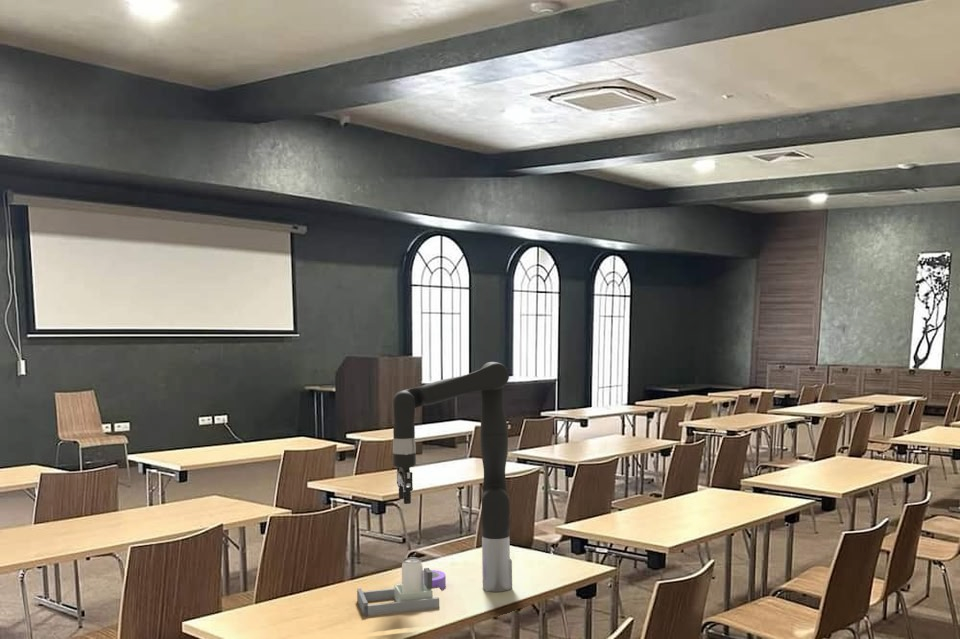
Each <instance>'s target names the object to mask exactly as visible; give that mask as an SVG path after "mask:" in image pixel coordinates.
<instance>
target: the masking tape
mask: <svg viewBox="0 0 960 639" xmlns="http://www.w3.org/2000/svg"><path fill="white" fill-rule="evenodd" d="M430 570H431V571H432V588H435V587H438V589H439V590H442V589H444V588H445V587H446V586H445V585H446V582H447V580H446V577H447V576H446V573H445V572H443V571H440V570H435V569H430ZM423 582H424V569H423Z"/></svg>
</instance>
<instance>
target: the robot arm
mask: <svg viewBox="0 0 960 639" xmlns="http://www.w3.org/2000/svg"><path fill="white" fill-rule="evenodd" d="M509 378H510V373H509V370H508V368H507V367H506V366H505V364H503V363H500V362H497V361H490V362H489V361H488V362H485V364H483V365H482V367H481V368H480V369H478V370H476V371H473V372H470V373H467V374H463V375H460V376H456V377H450V378H444V379H440V380H436V381H431V382H429V383H426V384H423V385H421V386H417V387H412V388H407V389H404V390H403V389H402V390H399V391H397V392H396V393H395V394H394V395H393V398H392V404H393V416H394V417H393V419H394V420H393V421H394V423H393V432H392V433H393V440H392V441H393V442H392V466H393V467H394V468H396V469H397V470H396V484H397V487H398V499H399V500H403V504H404V505H410V504H411V503H412V493H411V492H412V491H413V490H414V488H413V486H414V485H413V484H414V483H413V471H411V470H410V469H411V467H415V466H416V465H417V464H416V463H417V462H416V461H417V460H416V458H417V455H416V454H417V453H416V450H417V449H416V446H417V444H416V440H415V439H416V436H415V435H416V431H415V428H416V427H415V426H416V425H415V414H416V413H415V412H416V408H420V407H423V406H430V405H431V406H432V405H435V404H438V403H442V402H444V401H449V400H451V399H454V398H457V397H460V396H463V395H468V394H471V393H475V392H479V391H480V394H481V395H480V396H481V411H480V412H481V413H480V451H481V453H480V454H481V460H482V467H483V480H482V482H483V483H482V493H481V541H482V542H481V552H482V553H481V554H482V555H481V560H482V562H481V563H482V567H481V568H482V572H481V573H482V589H483V590H485V591H486V592H493V593H499V592H506V591H509V590H512V589H513V560H512V559H511V558H510V557H511V554H510V553H511V549H510V548H511V547H510V534H511V533H510V532H511V531H510V529H511V524H510V523H511V521H510V520H511V515H510V513H511V511H510V509H511V508H510V506H511V505H510V503H511V502H510V497H509V495H508V490H507V488H508V487H507V480H506V466H507V459H508V450H509V448H508V447H509V434H508V432H509V431H508V422H507V417H506V413H505V409H504V408H505V407H504V387H505V386H506V384H507V383H508V381H509Z"/></svg>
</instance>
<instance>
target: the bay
mask: <svg viewBox="0 0 960 639" xmlns="http://www.w3.org/2000/svg"><path fill="white" fill-rule="evenodd" d="M356 592H357V593H356V595H357V598H356V600H357V604H358V607H359V608H360V611H361V613H362V616H363V617H371V616H372V617H373V616H378V615H388V614H397V613H406V612H407V613H408V612H413V611H415V612H417V611H422V610H424V611H425V610H431V609H433V610H434V609H440V597H439V596H438V597H433V598H426V599H417V600H408V601H399V602H396V601H391V602H389V601H388V602H383V603H382V602H381V603H373V604H372V603H371V604H369V602H374V601H383V600H391V599H394V600H395V589H394V587H393V588H392V587H391V588H383V589H382V588H381V589H373V590H365V591H363V589H362V587H361V588H357V590H356Z"/></svg>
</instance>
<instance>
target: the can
mask: <svg viewBox="0 0 960 639" xmlns="http://www.w3.org/2000/svg"><path fill="white" fill-rule="evenodd" d="M402 561H403V562H402V564H401V584H402V594H405V593H414V592H423V570H424V568H423V563H422V559H421V558H419V557H405V558H404V559H402Z"/></svg>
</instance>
